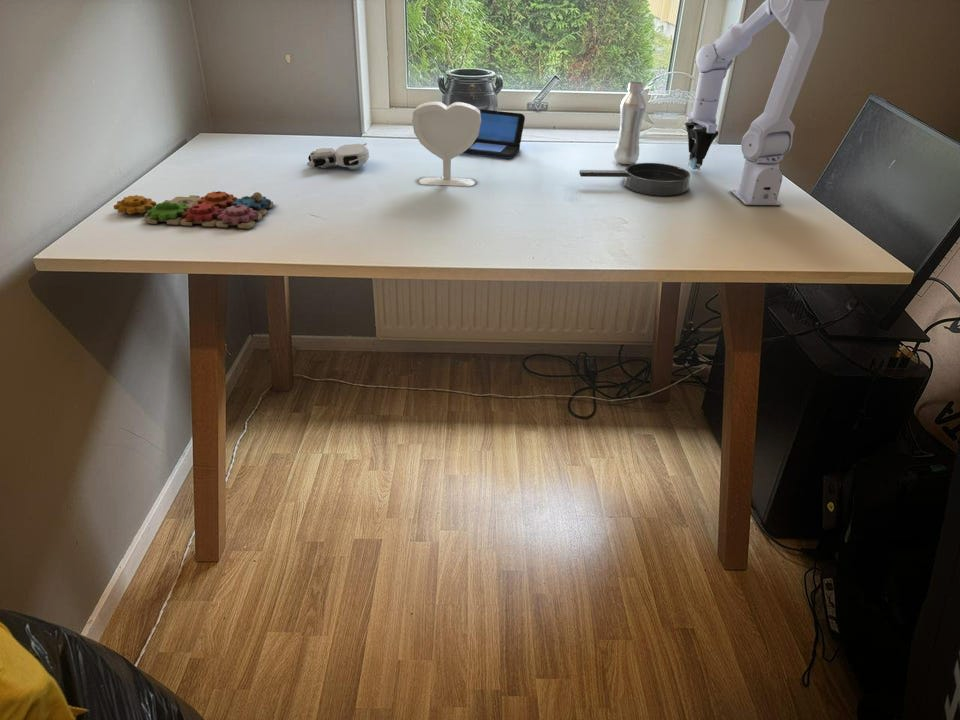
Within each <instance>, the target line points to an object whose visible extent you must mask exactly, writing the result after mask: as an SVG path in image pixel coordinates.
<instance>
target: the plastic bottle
mask: <svg viewBox="0 0 960 720" xmlns="http://www.w3.org/2000/svg"><path fill="white" fill-rule="evenodd" d="M627 91H628V92H627V93H626V95H625V96H624V97H623V99H622V100H621V101H620V106H619V107H620V110H619V111H620V112H619V113H620V114H619V115H620V117H619V118H620V121H619V131H618V136H617V141H616V146H615V147H614V148H615V149H614V152H613V156H614V157H613V158H614V161H615V162H616V163H619V164H622V165H633V164H636V163H637V161H638V160H639V156H640V136H641V128H642V123H643V119H644V116H645V111H646V109H647V104H646V100H645V97H644V95H643V94H642V92H643V91H644V82H641V81H629V82H628V85H627Z"/></svg>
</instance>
